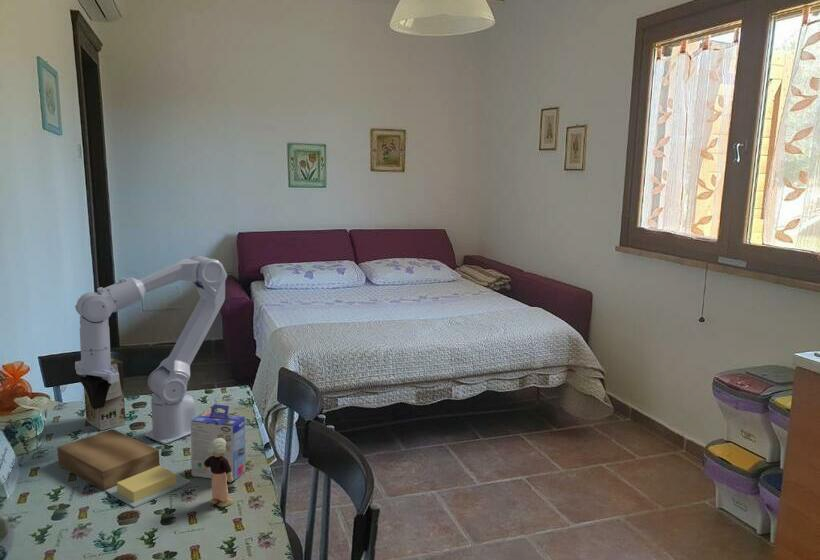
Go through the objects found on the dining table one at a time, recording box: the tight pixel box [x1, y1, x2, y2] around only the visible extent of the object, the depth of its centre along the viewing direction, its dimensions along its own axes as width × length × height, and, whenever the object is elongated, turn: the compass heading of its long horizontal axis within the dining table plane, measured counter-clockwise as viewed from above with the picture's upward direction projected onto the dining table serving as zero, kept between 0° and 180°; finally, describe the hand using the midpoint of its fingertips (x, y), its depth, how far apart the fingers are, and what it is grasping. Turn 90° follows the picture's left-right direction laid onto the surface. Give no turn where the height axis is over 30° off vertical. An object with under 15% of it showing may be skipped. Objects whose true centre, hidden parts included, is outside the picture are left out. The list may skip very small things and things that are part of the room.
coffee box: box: [82, 356, 127, 431], centre depth 148 cm, size 9×6×16 cm
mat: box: [105, 474, 191, 509], centre depth 119 cm, size 12×10×1 cm
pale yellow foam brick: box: [117, 465, 178, 502], centre depth 118 cm, size 9×6×2 cm, turn 145°
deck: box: [56, 428, 161, 492], centre depth 127 cm, size 12×18×4 cm, turn 56°
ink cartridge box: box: [190, 403, 247, 482], centre depth 124 cm, size 10×6×14 cm, turn 78°
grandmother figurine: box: [203, 438, 234, 508], centre depth 113 cm, size 8×4×13 cm, turn 71°
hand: (98, 407), depth 132 cm, fingers closed
